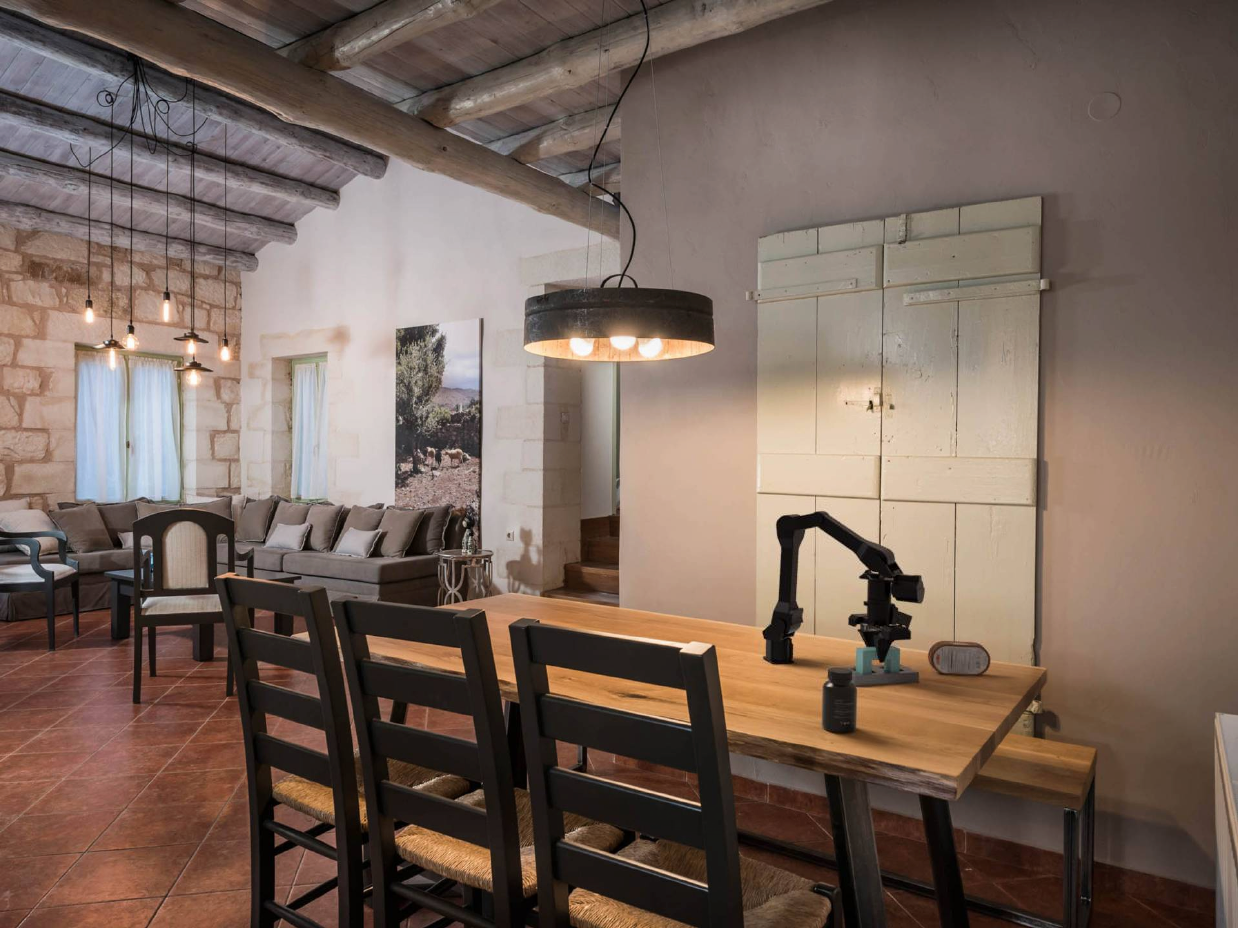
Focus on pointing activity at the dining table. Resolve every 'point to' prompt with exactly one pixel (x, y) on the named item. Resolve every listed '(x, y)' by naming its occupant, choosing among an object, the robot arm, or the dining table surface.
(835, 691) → the supplement bottle
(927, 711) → the dining table surface
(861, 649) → the teal u-shaped block
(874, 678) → the plate with rectangular holes
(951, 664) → the tin
